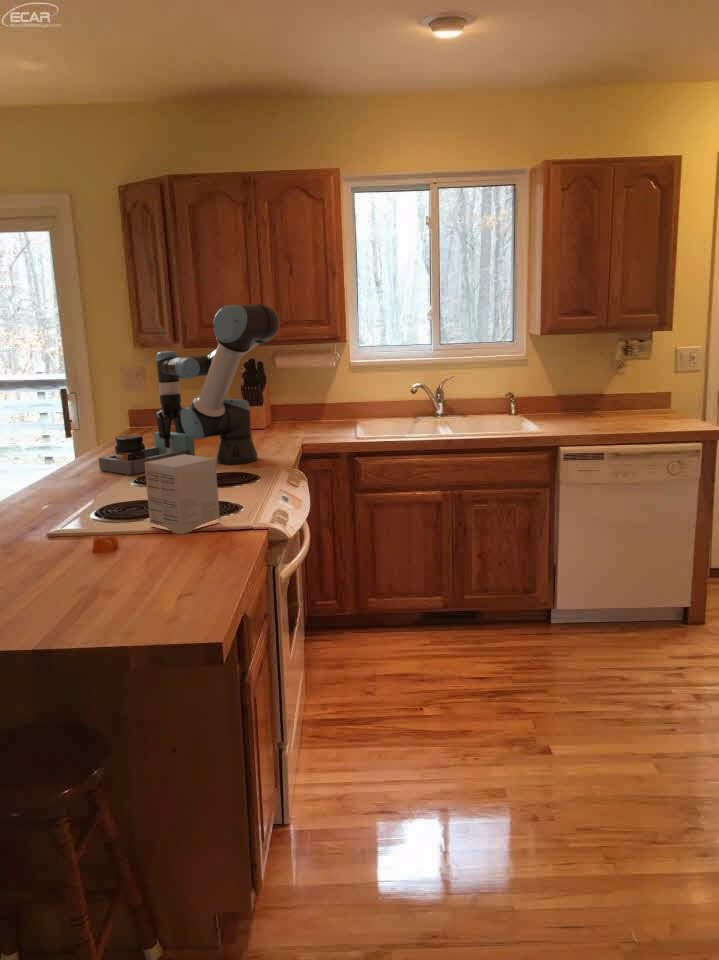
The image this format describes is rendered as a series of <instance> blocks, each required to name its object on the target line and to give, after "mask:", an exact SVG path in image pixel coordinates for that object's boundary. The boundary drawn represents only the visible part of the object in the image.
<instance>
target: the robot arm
mask: <svg viewBox="0 0 719 960" xmlns="http://www.w3.org/2000/svg"><path fill="white" fill-rule="evenodd" d="M213 326H214V327H213V332H214V336H215V338H216V341H217V343H218V344H217V347H216V349H215V350H213V351H212V352H210V353H209V354H207V355H196V356H195V355H194V356H184V357H183V356H182V357H178V353H177V351H173V350H170V351H168V350H166V351H158V352H157V353H156V371H157V377H158V388H159V391H158V392H159V394H160V395H159V401H160V404H161V408H160V410H159V411H156V412H155V413H154V414H155V417H156V418H157V419H156V420H157V429H158V432H159V437H160V438H163V439H164V441H165V448H167V453H171V452H173V446H172V439H170V432H172V431H171V427H172V421H173V423H174V424H173V425H174V429H175V433H185V434H187V436H189V437H190V438H192V439H194V440H203V439H208V438H213V437H219V444H218V450H217V453H216V463H218V464H222V465H224V464H225V465H239V464H247V463H248V464H249V463H253V462H256V461H257V460H258V452H257V450H256V447H255V445H254V441H253V438H252V437H253V436H252V427H251V426H252V423H251V409H250V403H249V401H248V400H247V399H238V398H227V395H228V392H229V390H230V387H231V385H232V382H233V380H234V378H235V377H234V376H235V374H236V373H237V369H238V366H239V364H240V362H241V360H242V357H244V355H246V354H247V353H249V352H251V351H252V350H253V349H255V348H257V346H258V345H264V344H267V343H268V342H270V341H271V340H273V339H274V338H275V336H277V335H278V333H279V331H280V326H281V322H280V317H279V315H278V312H277V311H276V310H275V309H274V308H272V307H270V306H269V305H267V304H261V303H260V304H259V303H257V304H235V303H234V304H231V305H226V306H222V307H220V309H219V310H218V311H217V312H216V313H215V316H214V318H213ZM199 377H205V380H204V383H203V385H202V388H201V391H200V393H199V395H196V396H195V397H193V399H192V403H191V405H190V406H186V407H182V405H181V402H182V398H181V393H180V392H181V386H180V379H184V380H189V379H194V378H199Z"/></svg>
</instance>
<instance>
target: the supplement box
mask: <svg viewBox="0 0 719 960" xmlns="http://www.w3.org/2000/svg"><path fill="white" fill-rule="evenodd" d="M144 464H145V472H144V474H145V483H146V495H147V505H148V516H149V524H150V523H153V524H156V525H160V526H163V527H166V528H168V529H170V530H171V531H172V532H171V533H172V534H177V535H184V534H187V533H191V532H193V531H192V529H194V528H196V527H198V526H200V525H202V524H205V523H207V522H210V521H213V520H216V519H219V518H220V519H221V515H220V514H221V513H220V503H219V502H220V501H219V490H218V479H217V478H218V477H217V476H218V475H217V466H216V464H217V461H216V459H215V458H213V457H207V456H199V455H195V456H193V455H186V454H183V455H178V456H174V457H169V458H164V459H159V460H154V461H149V462H144Z"/></svg>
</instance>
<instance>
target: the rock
mask: <svg viewBox="0 0 719 960" xmlns="http://www.w3.org/2000/svg"><path fill="white" fill-rule="evenodd" d="M118 546H119V539H118V537H116V535H114V536H112V535H110V536H107V537H100V536H97V535H95V536H94V537H93V544H92V549H91V552H92V553H94V554H110V553H113V552H114V551H115V550H116V548H118ZM109 552H110V553H109Z"/></svg>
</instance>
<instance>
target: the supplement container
mask: <svg viewBox="0 0 719 960" xmlns="http://www.w3.org/2000/svg"><path fill="white" fill-rule="evenodd" d="M143 437H144V436H143V435H141V434H127V435H119V436H116V437H114V441H115V446H114V450H115V454H116V459H121V460H128V461H132V460H137V459H142V458H146V454H145V449H146V444H145V443H144V438H143Z"/></svg>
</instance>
